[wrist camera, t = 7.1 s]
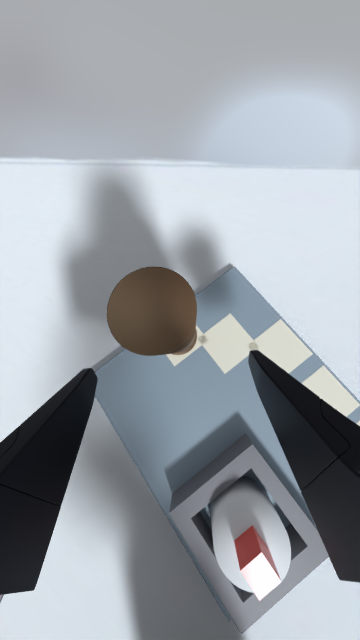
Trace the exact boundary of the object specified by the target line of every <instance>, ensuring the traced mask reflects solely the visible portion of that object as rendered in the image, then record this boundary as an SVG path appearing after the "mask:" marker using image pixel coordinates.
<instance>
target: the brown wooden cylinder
mask: <svg viewBox="0 0 360 640" xmlns="http://www.w3.org/2000/svg"><path fill="white" fill-rule="evenodd" d="M196 318H197V302H196V298H195V295H194V292H193V290H192V288H191V286H190V285H189V283H188V282H187V281H186V280H185V279H184V278H183V277H182V276H181V275H179V274H178V273H176V272H174V271H172V270H170V269H167V268H163V267H146V268H141V269H138V270H136V271H134V272H132V273H130V274H128V275H127V276H126V277H124V278H123V279H122V280H121V281H120V282H119V283H118V284H117V286H116V287H115V288H114V290H113V292H112V294H111V296H110V298H109V302H108V306H107V321H108V325H109V328H110V331H111V333H112V335H113V336H114V338H115V339H116V340H117V342H118V343H119V344H120V345H121V346H123V347H124V348H125V349H127V350H129V351H131V352H133V353H136V354H139V355H144V356H156V355H165V354H173V355H182V354H185V353H188V352H189V351H190V350H192V348H193V347H194V346H195V344H196V340H197V331H196Z"/></svg>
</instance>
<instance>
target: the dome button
mask: <svg viewBox="0 0 360 640" xmlns="http://www.w3.org/2000/svg"><path fill="white" fill-rule="evenodd" d="M210 517H211V527H212V536H213V546H214V552H215V556H216V559H217V562H218V564H219V566H220V568H221V570H222V572H223V573H224V574H225V576H226V577H227V578H228V579H229V580H230V581H231V582H232V583H233V584H234V585H236V586H237V587H238V588H240V589H242V590H245V591H247V592H252V593H255V595H256V596H257V598H258V600H259V601H260V600H261V599H262V598H263V597H265V596H266V595H267V594H268V593H269V592H270V591H271V590H272V589H274V588H275V587H277V586H278V585H279V584H280V583H281V582H282V581H283V579H284V578H285V576H286V574H287V572H288V569H289V566H290V561H291V546H290V541H289V537H288V534H287V531H286V529H285V527H284V525H283V523H282V521H281V519H280V517H279V515H278V514H277V512H276V510H275V508H274V506H273V504H272V502H271V500H270V498H269V496H268V495H267V493H266V492H265V490H264V489H263V488H262V487H261V486H260V485H259V484H257V483H256V482H254V481H253V480H250V479H248V478H245V477H240V478H239V479H238V480H236V481H235V482H234V483H233V484H232V485H230V486H229V487H228V488H227V489H226V490H224V491H223V492H222V493H221V494H220V495H218V496H217V497H216V498H215V499H214V500H212V501H211V503H210Z"/></svg>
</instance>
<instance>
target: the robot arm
mask: <svg viewBox="0 0 360 640" xmlns="http://www.w3.org/2000/svg"><path fill="white" fill-rule="evenodd" d="M248 364H249V367H250V371H251V374H252V377H253V380H254V384H255V387H256V390H257V392H258V395H259V397H260V399H261V402H262V404H263V406H264V409H265V411H266V413H267V415H268V418H269V420H270V422H271V425H272V427H273V429H274V431H275V434H276V436H277V438H278V441H279V443H280V445H281V447H282V450H283V452H284V454H285V457H286V459H287V461H288V463H289V466H290V468H291V470H292V473H293V475H294V477H295V479H296V482H297V484H298V486H299V489H300V491H302V492H301V493H302V496H303V498H304V500H305V503H306V505H307V507H308V509H309V512H310V514H311V516H312V519H313V521H314V523H315V525H316V528H317V530H318V532H319V535H320V537H321V539H322V541H323V544H324V546H325V548H326V551H327V553H328V555H329V557H330V560H331V562H332V564H333V567H334V569H335V571H336V573H337V575H338V578H339V580H342V581H351V582H359V583H360V426H359V425H358V424H356V423H355V422H353V421H352V420H350V419H349V418H347V417H346V416H344V415H343V414H342V413H340V412H339V411H338V410H336V409H335V408H333V407H332V406H331V405H329V404H328V403H327V402H325V401H324V400H323V399H320V397H319V396H318V395H316V394H315V393H314V392H312V391H311V390H310V389H308V388H307V387H306V386H304V385H303V384H302V383H301V382H299V381H298V380H297V379H295V378H294V377H293V376H291V375H290V374H289V373H287V372H286V371H285V370H284V369H282V368H281V367H280V366H278V365H277V364H276V363H274V362H273V361H272V360H270V359H269V358H268V357H267V356H265V355H264V354H263V353H261V352H260V351H259V350H251V351H250V352H249V358H248ZM97 382H98V378H97V375H96V374H95V372H94V371H93V369H92V368H86V369H83V370H82V371H81V372H80V373H78V374H77V375H76V376H75V377H74V378H73V379H72V380H71V381H69V382H68V383H67V384H66V385H65V386H64V387H63V388H62V389H60V390H59V391H58V392H57V393H56V394H55V395H54V396H52V397H51V398H50V399H49V400H48V401H47V402H46V403H45V404H43V405H42V406H41V407H40V408H39V409H38V410H37V411H36V412H34V413H33V414H32V415H31V416H30V417H29V418H28V419H27V420H25V421H24V422H23V423H22V424H21V425H20V426H19V427H18V428H16V429H15V430H14V431H13V432H12V433H11V434H10V435H8V436H7V437H6V438H5V439H4V440H3V441H2V442H0V602H1V600H2V598H3V596H4V594H10V593H17V592H25V591H33V590H34V589H35V586H36V584H37V581H38V578H39V575H40V571H41V568H42V565H43V562H44V559H45V556H46V552H47V549H48V546H49V543H50V540H51V537H52V533H53V530H54V527H55V524H56V521H57V517H58V514H59V511H60V508H61V507H60V506H61V504H62V501H63V498H64V495H65V492H66V489H67V485H68V482H69V479H70V476H71V473H72V469H73V466H74V463H75V460H76V457H77V454H78V450H79V447H80V444H81V441H82V438H83V435H84V431H85V428H86V425H87V422H88V419H89V415H90V412H91V409H92V405H93V401H94V396H95V391H96V386H97Z"/></svg>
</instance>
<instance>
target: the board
mask: <svg viewBox="0 0 360 640" xmlns="http://www.w3.org/2000/svg"><path fill="white" fill-rule="evenodd" d="M195 298H196V302H197V318H196V331H197V340H196V344H195V346H194V347H193V348H192V350H190V351H189V352H188V353H185V354H182V355H173V354H165V355H156V356H144V355H139V354H136V353H133V352H131V351H129V350H127V349H125V350H123V351H122V352H121V353H119V354H118V355H117V356H116V357H114V358H113V359H112V360H110V361H109V362H108V363H106V364H105V365H104V366H102V367H101V368H100V369H98V370H97V371H96V372H95V374H96V375H97V378H98V382H97V386H96V391H95V397H96V398H97V400H98V402H99V403H100V405H101V407H102V408H103V410H104V412H105V413H106V415H107V417H108V418H109V420H110V422H111V424H112V425H113V427H114V429H115V430H116V432H117V434H118V435H119V437H120V439H121V440H122V442H123V444H124V445H125V447H126V449H127V450H128V452H129V454H130V456H131V457H132V459H133V461H134V462H135V464H136V466H137V467H138V469H139V471H140V472H141V474H142V476H143V477H144V479H145V481H146V483H147V484H148V486H149V488H150V489H151V491H152V493H153V494H154V496H155V498H156V499H157V501H158V503H159V504H160V506H161V508H162V510H163V511H164V513H165V515H166V516H167V518H168V520H169V521H170V523H171V525H172V526H173V528H174V530H175V531H176V533H177V535H178V537H179V538H180V540H181V542H182V543H183V545H184V547H185V548H186V550H187V552H188V553H189V555H190V557H191V558H192V560H193V562H194V564H195V565H196V567H197V569H198V570H199V572H200V574H201V575H202V577H203V579H204V580H205V582H206V584H207V585H208V587H209V589H210V591H211V592H212V594H213V596H214V597H215V599H216V601H217V602H218V604H219V606H220V607H221V609H222V611H223V612H224V614H225V616H226V618H227V619H228V621H230V620H231V619H233V621H234V623H235V625H236V626H237V628H238V630H239V631H240V633H241V634H242V633H243V632H244V631H246V630H247V629H248V628H249V627H250V626H251V625H252V624H253V623H255V622H256V621H257V620H258V619H259V618H260V617H261V616H262V615H264V614H265V613H266V612H267V611H268V610H269V609H270V608H271V607H273V606H274V605H275V604H276V603H277V602H278V601H279V600H280V599H282V598H283V597H284V596H285V595H286V594H287V593H288V592H289V591H291V590H292V589H293V588H294V587H295V586H296V585H297V584H298V583H300V582H301V581H302V580H303V579H304V578H305V577H306V576H307V575H309V574H310V573H311V572H312V571H313V570H314V569H315V568H316V567H318V566H319V565H320V564H321V563H322V562H323V561H324V560H325V559H327V558H328V557H329V555H328V553H327V551H326V548H325V546H324V544H323V541H322V539H321V537H320V535H319V532H318V530H317V528H316V525H315V523H314V521H313V519H312V516H311V514H310V512H309V509H308V507H307V505H306V503H305V500H304V498H303V496H302V493H301V492H302V491H300V489H299V486H298V484H297V482H296V479H295V477H294V475H293V473H292V470H291V468H290V466H289V463H288V461H287V459H286V457H285V454H284V452H283V450H282V447H281V445H280V443H279V441H278V438H277V436H276V434H275V431H274V429H273V427H272V425H271V422H270V420H269V418H268V415H267V413H266V411H265V409H264V406H263V404H262V402H261V399H260V397H259V395H258V392H257V390H256V387H255V384H254V380H253V377H252V374H251V371H250V367H249V364H248V358H249V352H250V351H251V350H259V351H260V352H261V353H263V354H264V355H265V356H267V357H268V358H269V359H270V360H272V361H273V362H274V363H276V364H277V365H278V366H280V367H281V368H282V369H284V370H285V371H286V372H287V373H289V374H290V375H291V376H293V377H294V378H295V379H297V380H298V381H299V382H301V383H302V384H303V385H304V386H306V387H307V388H308V389H310V390H311V391H312V392H314V393H315V394H316V395H318V396H319V397H320V399H323V400H324V401H325V402H327V403H328V404H329V405H331V406H332V407H333V408H335V409H336V410H338V411H339V412H340V413H342V414H343V415H344V416H346V417H347V418H349V419H350V420H352V421H353V422H355V423H356V424H358V425H359V426H360V401H359V400H358V399H357V398H356V397H355V396H354V395H353V394H352V393H351V392H350V391H349V389H348V388H347V387H346V386H345V385H344V384H343V383H342V382H341V381H340V380H339V379H338V378H337V377H336V375H335V374H334V373H333V372H332V371H331V370H330V369H329V368H328V367H327V366H326V365H325V364H324V362H323V361H322V360H321V359H320V358H319V357H318V356H317V355H316V354H315V353H314V352H313V351H312V349H311V348H310V347H309V346H308V345H307V344H306V343H305V342H304V341H303V340H302V339H301V338H300V337H299V335H298V334H297V333H296V332H295V331H294V330H293V329H292V328H291V327H290V326H289V325H288V324H287V322H286V321H285V320H284V319H283V318H282V317H281V316H280V315H279V314H278V313H277V312H276V311H275V310H274V308H273V307H272V306H271V305H270V304H269V303H268V302H267V301H266V300H265V299H264V298H263V297H262V295H261V294H260V293H259V292H258V291H257V290H256V289H255V288H254V287H253V286H252V285H251V284H250V283H249V281H248V280H247V279H246V278H245V277H244V276H243V275H242V274H241V273H240V272H239V271H238V270H237V268H236V267H235V266H234V267H233V268H232V269H230V270H229V271H228V272H226V273H225V274H224V275H222V276H221V277H220V278H218V279H217V280H216V281H214V282H213V283H212V284H210V285H209V286H208V287H206V288H205V289H204V290H203V291H201V292H200V293H199V294H197V295H196V296H195ZM240 477H245V478H248V479H250V480H253V481H254V482H256V483H257V484H259V485H260V486H261V487H262V488H263V489H264V490H265V492H266V493H267V495H268V496H269V498H270V500H271V502H272V504H273V506H274V508H275V510H276V512H277V514H278V515H279V517H280V519H281V521H282V523H283V525H284V527H285V529H286V531H287V534H288V537H289V541H290V546H291V561H290V566H289V569H288V572H287V574H286V576H285V578H284V579H283V581H282V582H281V583H280V584H279V585H278V586H277V587H275V588H274V589H272V590H271V591H270V592H269V593H268V594H267V595H266V596H265V597H263V598H262V599H261V600H260V601H259V600H258V598H257V596H256V595H255V593H252V592H247V591H245V590H242V589H240V588H238V587H237V586H236V585H234V584H233V583H232V582H231V581H230V580H229V579H228V578H227V577H226V576H225V574H224V573H223V572H222V570H221V568H220V566H219V564H218V562H217V559H216V556H215V552H214V546H213V536H212V527H211V517H210V503H211V501H212V500H214V499H215V498H216V497H217V496H218V495H220V494H221V493H222V492H223V491H224V490H226V489H227V488H228V487H229V486H230V485H232V484H233V483H234V482H235V481H236V480H238V479H239V478H240Z"/></svg>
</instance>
